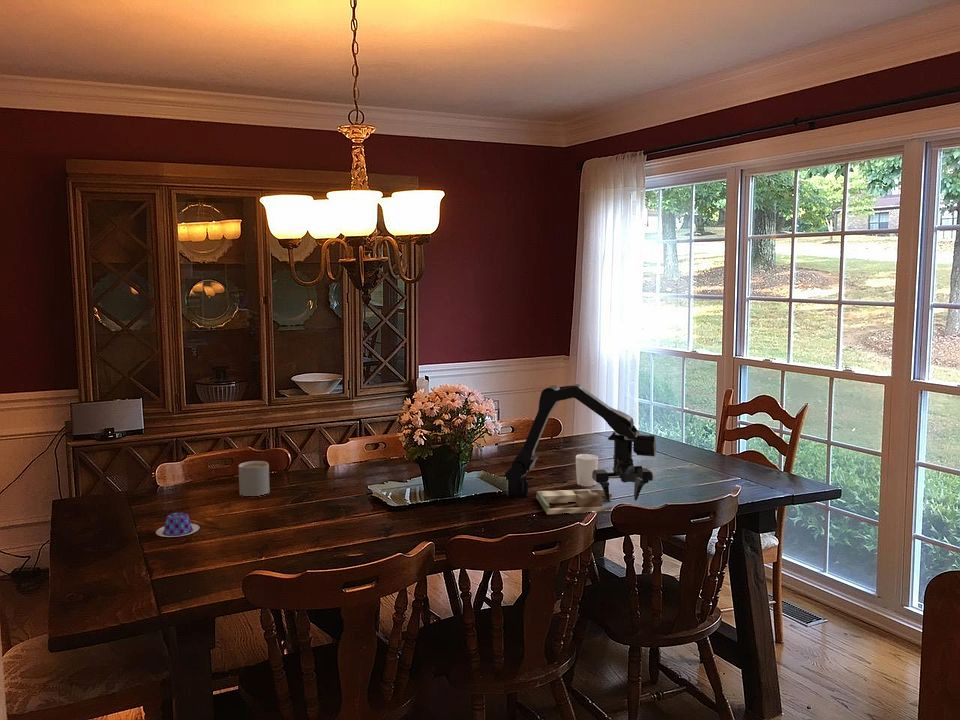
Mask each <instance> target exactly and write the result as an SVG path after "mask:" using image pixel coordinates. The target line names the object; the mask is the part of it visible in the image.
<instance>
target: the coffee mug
mask: <svg viewBox="0 0 960 720" xmlns="http://www.w3.org/2000/svg"><path fill="white" fill-rule="evenodd" d="M238 488H239V496H241V495H243V496H259V497H261V496H260V495H264V494H267V493H268V494H270V491H271V490H270V465H269V462H267V461H264V460H251V461H246V462H242V463H239V464H238ZM268 494H267V495H268ZM243 496H242V497H243ZM264 496H265V495H264Z"/></svg>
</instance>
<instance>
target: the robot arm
mask: <svg viewBox="0 0 960 720" xmlns="http://www.w3.org/2000/svg"><path fill="white" fill-rule="evenodd" d="M568 399H569V400H570V399H575V400H576V401H578V402H580V403H581V404H583V405H584V406H586V407H587V408H588V409H590V410H591V411H593V412H594V413H595V414H597V415H598V416H599V417H601V419H603V420H604V421H605V422H606V424H607V425H608V426H609V427H610V428H611V429H612V431H613V432H612V433H611V435H609V437H607V440H608V441H613V455H612V459H613V467H612V472H607V471H606V470H605V469H597V470H594V471H593V472H592V478H593V479H594V480H595V481H596V483H597V484H599V485H600V486H601V489H603V491H604V494H605V497H606V499H607V501H606V502H607V503H609V502H610V501H609V491H610V490H609V488H610V482H609V479H620V481H621V482H622V483H634V486H633V488H634V490H633V491H634V492H633V496H634V497H633V498H634V499H633V500H634V501H635V502H636V501H638V499H639V496H640V493H641V492H642V489H643V487H644V486H645V485H646V484H649V482H651V481H653V480H654V475H653V472H652V471H651V470H650V469H649V468H647V467H646V468H645V467H643V466H642V465H634V460H633V452H634V454H636V455H637V456H644V457H652V458H653V457H654V458H655V457H656V454H657V441H656V435H655V434H640V432H639V430H638V429H637V427H636V426H635V425H634V423H635V422H634V419H633V416H631V415H629V414H627V413H625V412H623V411H621V410H618V409H616V408H613V407H611V406H609V405H608V404H607V403H605V402H604V401H602V400H601V399H600V398H598V397H597V396H595V395H594V394H593V393H591V392H590V391H589V390H587V389H585V388H584V387H583V385H581V384H579V383H577V384H573V385H564V386H557V385H554V384H551V385H549V386H548V387H546V388H544V389H542V391H541V393H540V396H539V400H538V411H537V413H536V415H535V417H534V420H533V422H532V425H531V427H530V430H529V432H528V434H527V437H526V439H525V442H524V445H523V446H522V448H521V450H520V451H519V452H518V453H517V455H516V456H515V458H514V459H513V461H512V462H511V464H510V465H511V467H510V468H508V470H507V471H506V472H505V473H504V477H505V480H506V491H507V492H506V491H505V495H506V496H507V497H508V498H525V497H526V498H528V494H529V481H528V480H527V477H526V475H527V474H528V472H531V470H532V469H534V468H535V466H536V465H535V464H536V461H537V460H538V458H539V456H538V455H535V454H536V448H537V447H538V444H539V441H540V440H541V437H542V434H543V433H544V430H545V427H546V425H547V422H548V420H549V418H550V415H551V414H552V412H553V411H554V409H555V408H556V407H557V405H558V403H559V402H561V401H565V400H568Z"/></svg>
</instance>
